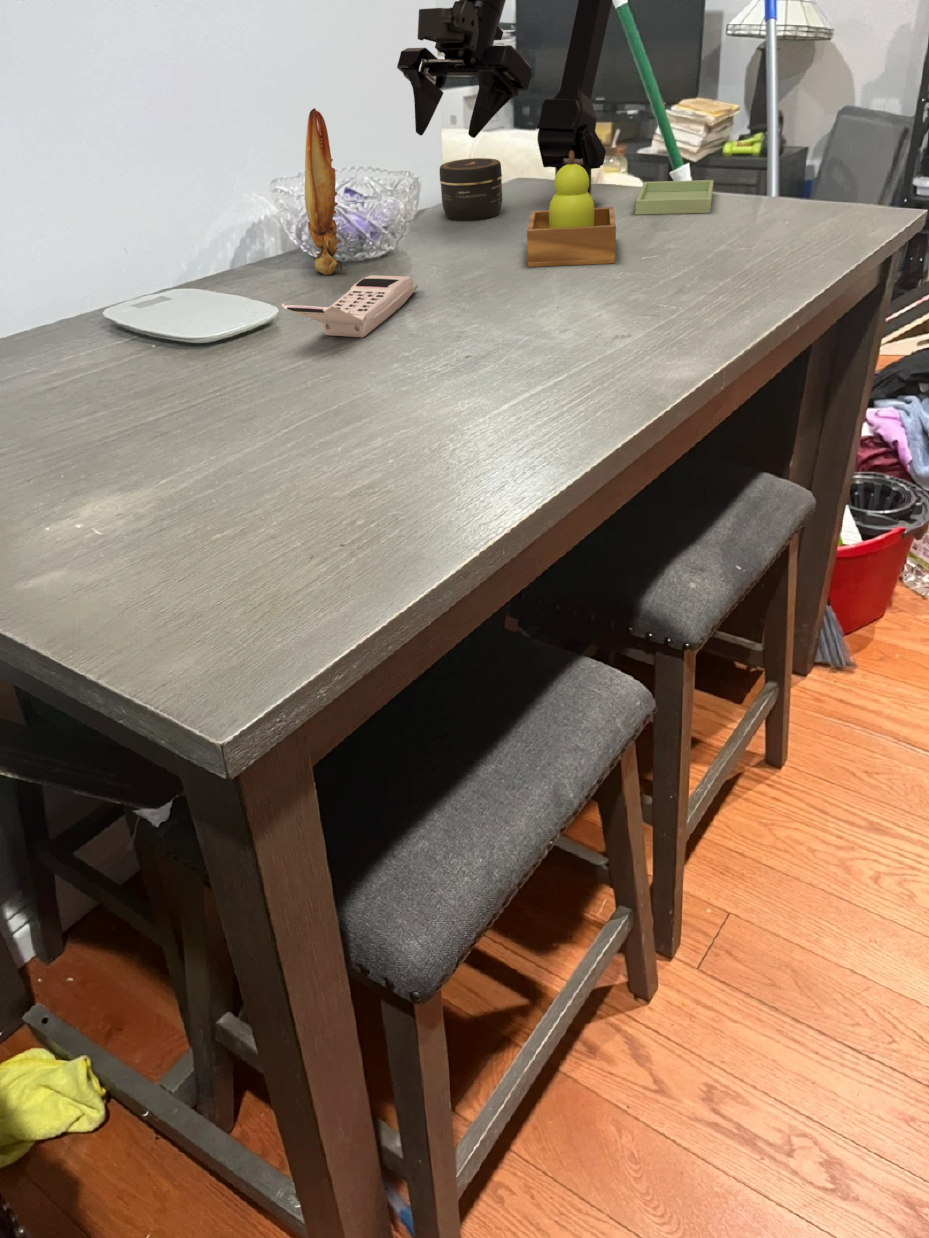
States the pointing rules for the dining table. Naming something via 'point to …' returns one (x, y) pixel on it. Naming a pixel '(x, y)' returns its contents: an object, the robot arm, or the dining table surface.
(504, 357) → the dining table surface
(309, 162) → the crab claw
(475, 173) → the jar
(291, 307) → the mobile phone
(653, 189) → the tray
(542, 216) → the wooden box
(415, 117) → the robot arm
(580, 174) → the pear
